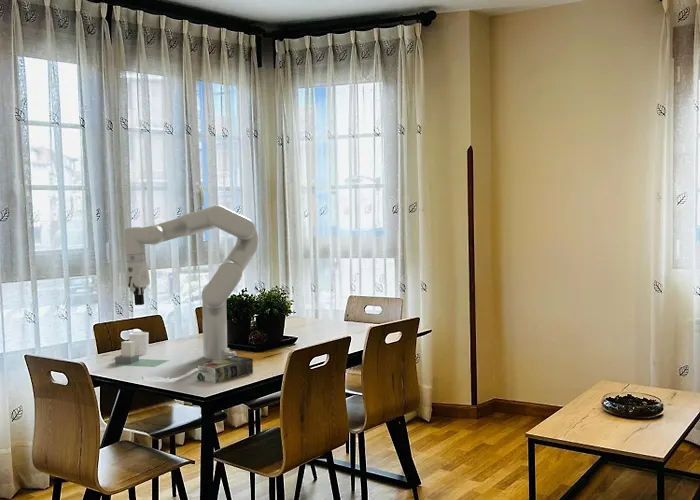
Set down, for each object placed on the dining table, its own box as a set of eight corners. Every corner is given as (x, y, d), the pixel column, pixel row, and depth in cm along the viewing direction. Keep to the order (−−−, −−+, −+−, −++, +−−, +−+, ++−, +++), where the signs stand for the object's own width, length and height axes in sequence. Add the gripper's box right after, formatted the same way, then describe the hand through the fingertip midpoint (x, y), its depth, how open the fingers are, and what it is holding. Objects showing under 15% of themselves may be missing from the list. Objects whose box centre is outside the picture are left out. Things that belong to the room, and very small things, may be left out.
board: (169, 364, 277) (169, 354, 276) (154, 370, 265) (154, 360, 265) (124, 362, 281) (123, 352, 281) (107, 368, 270) (107, 358, 269)
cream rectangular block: (135, 361, 275) (134, 341, 275) (131, 363, 272) (130, 342, 272) (125, 361, 276) (125, 340, 276) (121, 362, 273) (120, 342, 273)
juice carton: (213, 384, 243) (213, 367, 243) (194, 381, 249) (194, 364, 249) (254, 374, 260) (253, 357, 259) (235, 371, 265) (234, 355, 265)
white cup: (143, 359, 286) (142, 335, 286) (125, 358, 288) (125, 334, 287) (152, 355, 294) (151, 332, 293) (135, 355, 295) (134, 331, 295)
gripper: (135, 259, 267) (138, 307, 268) (153, 256, 282) (157, 301, 283) (117, 260, 269) (121, 307, 270) (136, 257, 284) (140, 302, 285)
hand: (139, 304), depth 277 cm, fingers closed
